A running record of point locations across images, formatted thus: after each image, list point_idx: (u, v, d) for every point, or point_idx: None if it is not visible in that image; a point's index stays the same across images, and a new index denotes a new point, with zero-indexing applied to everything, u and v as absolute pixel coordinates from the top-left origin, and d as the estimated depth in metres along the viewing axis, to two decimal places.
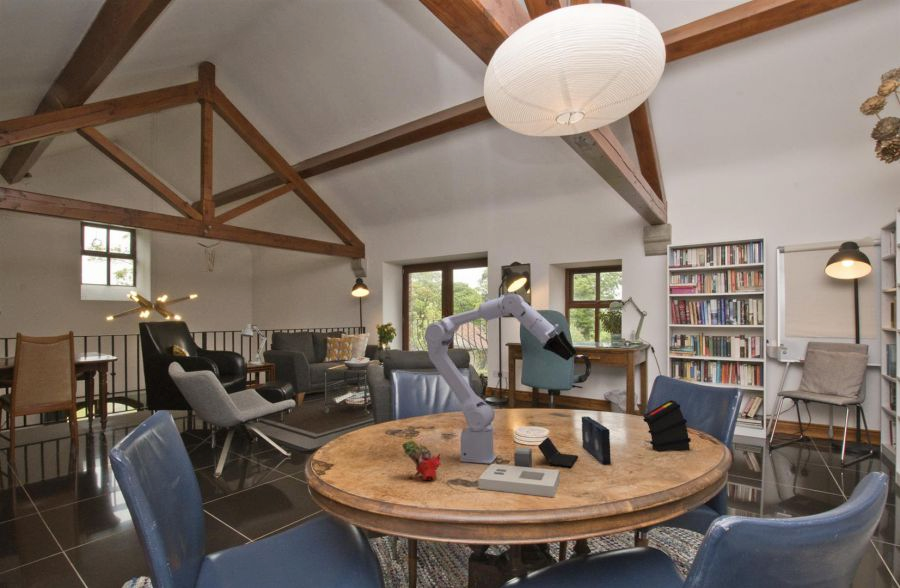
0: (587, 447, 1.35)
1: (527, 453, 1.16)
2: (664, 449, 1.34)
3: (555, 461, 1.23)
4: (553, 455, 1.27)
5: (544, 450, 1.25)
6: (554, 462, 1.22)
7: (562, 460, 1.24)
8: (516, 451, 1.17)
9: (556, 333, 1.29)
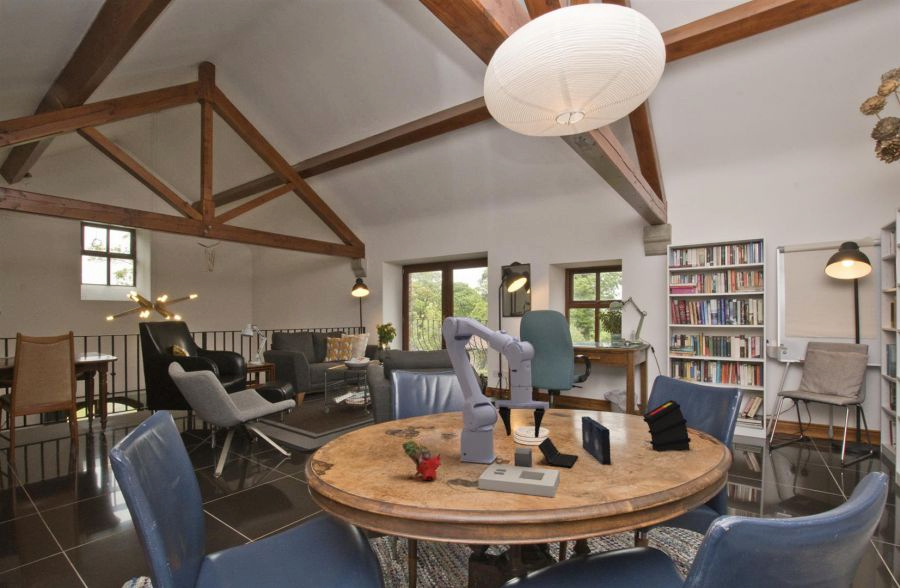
0: (587, 447, 1.35)
1: (527, 453, 1.16)
2: (664, 449, 1.34)
3: (555, 461, 1.23)
4: (553, 455, 1.27)
5: (544, 450, 1.25)
6: (554, 462, 1.22)
7: (562, 460, 1.24)
8: (516, 451, 1.17)
9: (543, 407, 1.16)
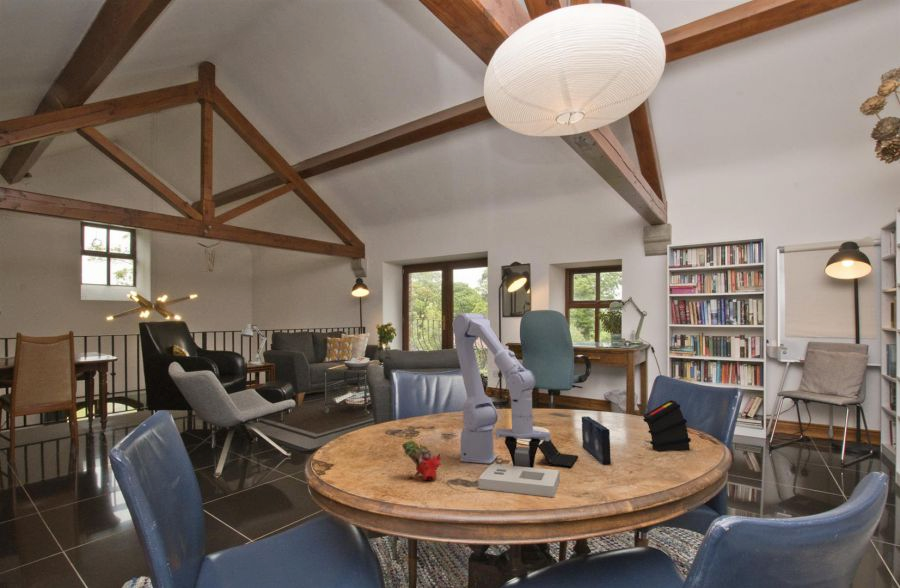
0: (587, 447, 1.35)
1: (527, 453, 1.16)
2: (664, 449, 1.34)
3: (555, 461, 1.23)
4: (553, 455, 1.27)
5: (544, 450, 1.25)
6: (554, 462, 1.22)
7: (562, 460, 1.24)
8: (516, 451, 1.17)
9: (544, 438, 1.15)
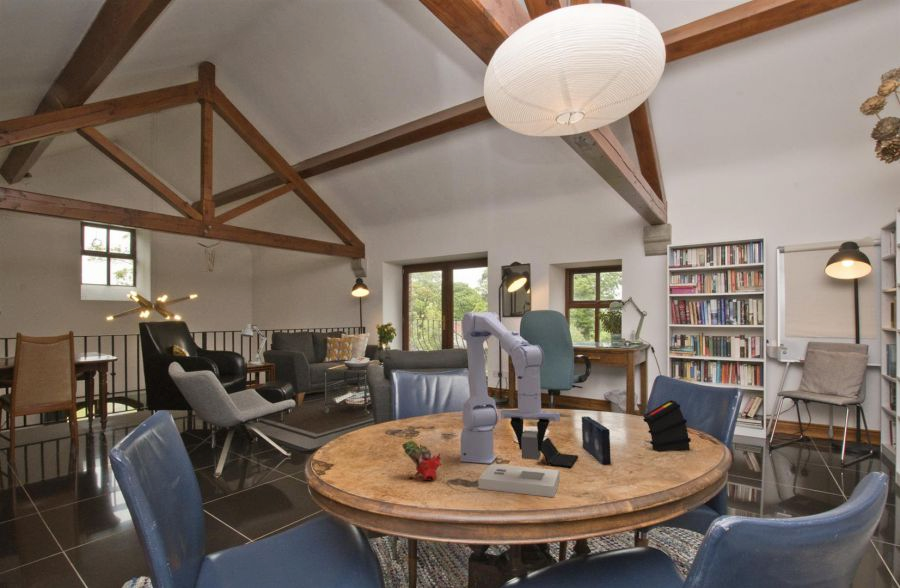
0: (587, 447, 1.35)
1: (535, 436, 1.06)
2: (664, 449, 1.34)
3: (555, 461, 1.23)
4: (553, 455, 1.27)
5: (544, 450, 1.25)
6: (554, 462, 1.22)
7: (562, 460, 1.24)
8: (523, 434, 1.07)
9: (554, 418, 1.05)
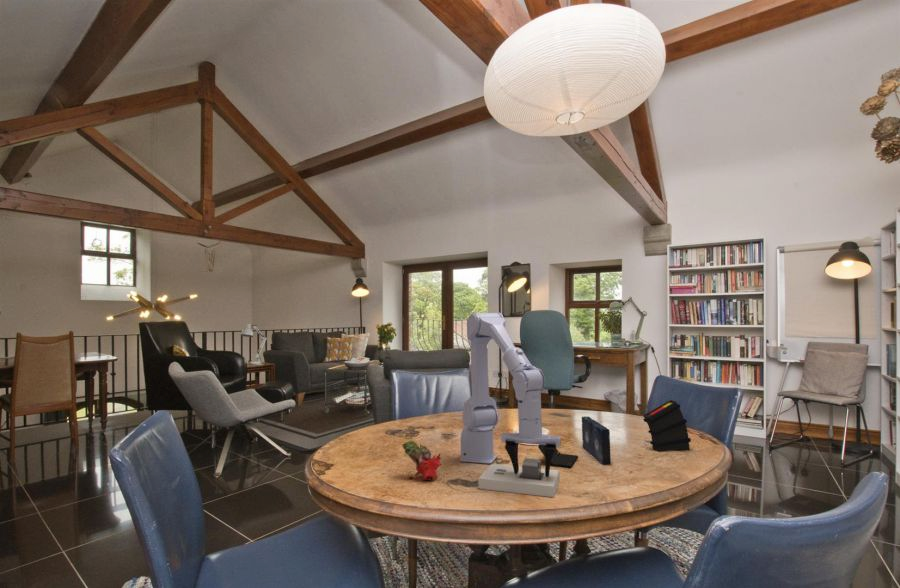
0: (587, 447, 1.35)
1: (536, 465, 1.05)
2: (664, 449, 1.34)
3: (555, 461, 1.23)
4: (553, 455, 1.27)
5: None
6: (554, 462, 1.22)
7: (562, 460, 1.24)
8: (524, 463, 1.06)
9: (555, 443, 1.05)
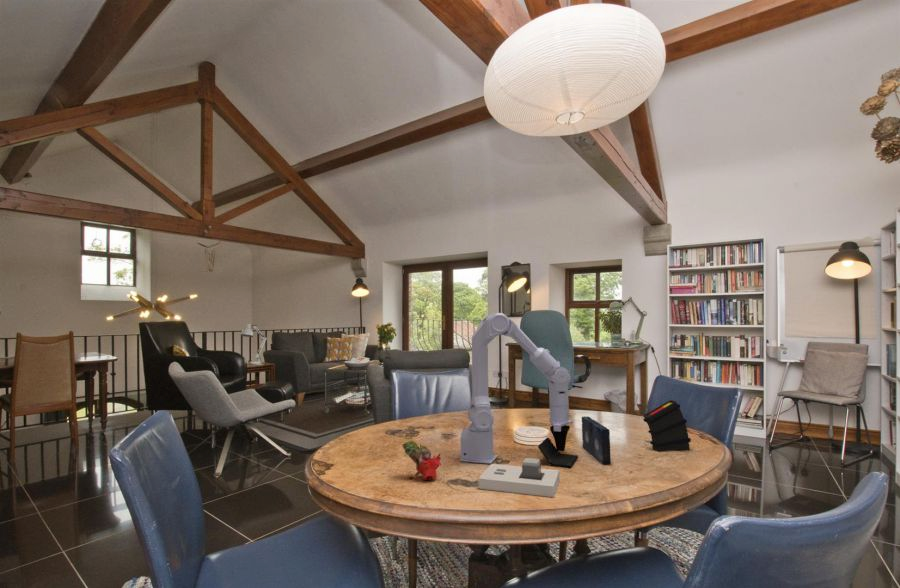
0: (587, 447, 1.35)
1: (536, 465, 1.05)
2: (664, 449, 1.34)
3: (555, 461, 1.23)
4: (553, 455, 1.27)
5: (544, 450, 1.25)
6: (554, 462, 1.22)
7: (562, 460, 1.24)
8: (524, 463, 1.06)
9: None
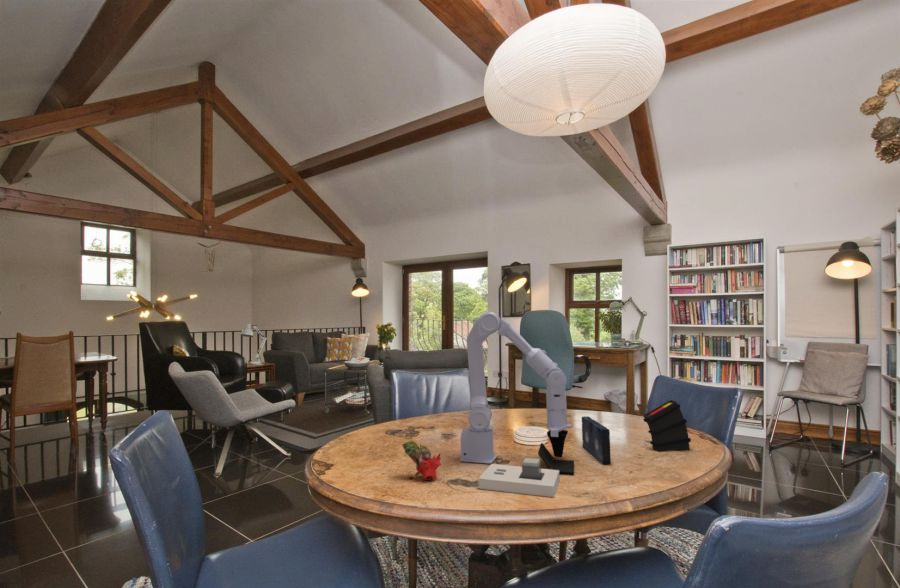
0: (587, 447, 1.35)
1: (536, 465, 1.05)
2: (664, 449, 1.34)
3: (555, 468, 1.17)
4: (551, 462, 1.21)
5: (544, 457, 1.18)
6: (555, 469, 1.16)
7: (562, 467, 1.18)
8: (524, 463, 1.06)
9: None
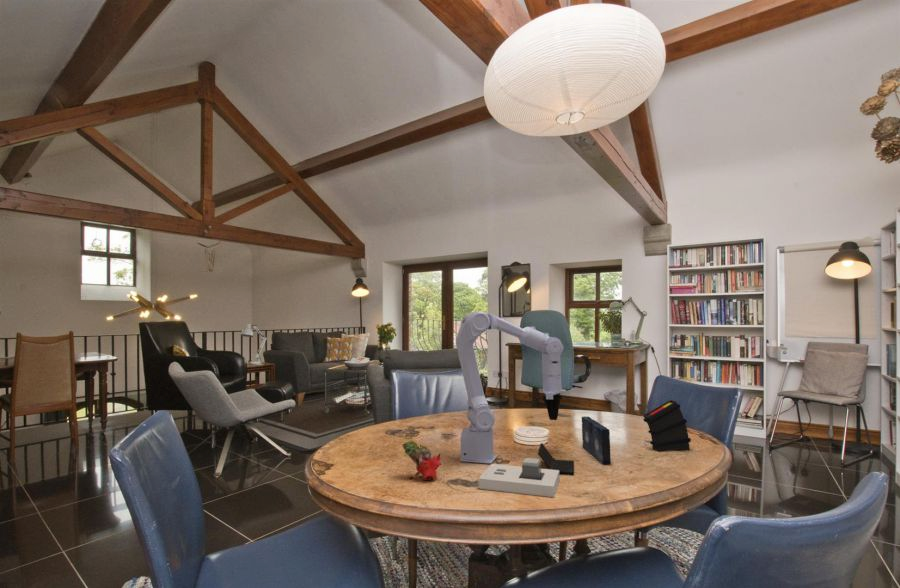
0: (587, 447, 1.35)
1: (536, 465, 1.05)
2: (664, 449, 1.34)
3: (555, 468, 1.17)
4: (550, 462, 1.21)
5: (543, 457, 1.18)
6: (555, 469, 1.16)
7: (562, 467, 1.18)
8: (524, 463, 1.06)
9: None
